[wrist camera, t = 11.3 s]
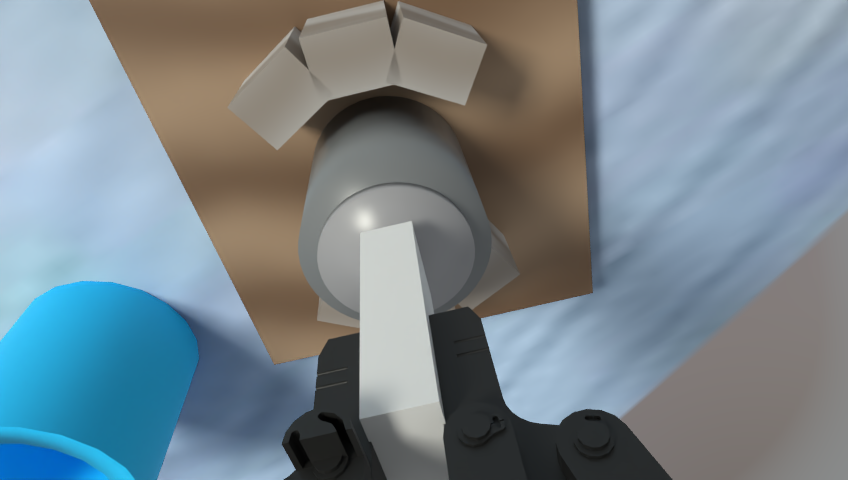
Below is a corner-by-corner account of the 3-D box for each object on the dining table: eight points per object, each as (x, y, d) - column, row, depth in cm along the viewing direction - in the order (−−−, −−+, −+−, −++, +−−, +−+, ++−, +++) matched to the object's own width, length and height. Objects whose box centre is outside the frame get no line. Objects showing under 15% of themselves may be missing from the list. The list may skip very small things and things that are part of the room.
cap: (291, 117, 21) (266, 197, 15) (446, 78, 20) (477, 146, 15) (339, 246, 24) (331, 350, 18) (473, 214, 24) (506, 310, 18)
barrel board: (90, -34, 18) (25, -17, 15) (557, -151, 18) (605, -163, 14) (277, 347, 28) (265, 413, 25) (584, 278, 28) (616, 334, 24)
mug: (48, 252, 24) (-78, 395, 17) (225, 322, 27) (179, 468, 20) (-18, 417, 29) (-137, 580, 22) (140, 461, 32) (78, 617, 25)
